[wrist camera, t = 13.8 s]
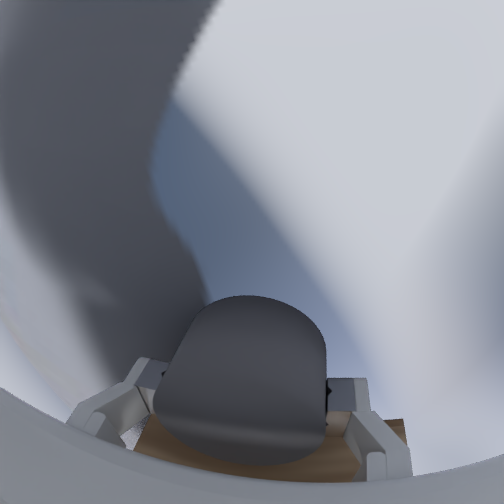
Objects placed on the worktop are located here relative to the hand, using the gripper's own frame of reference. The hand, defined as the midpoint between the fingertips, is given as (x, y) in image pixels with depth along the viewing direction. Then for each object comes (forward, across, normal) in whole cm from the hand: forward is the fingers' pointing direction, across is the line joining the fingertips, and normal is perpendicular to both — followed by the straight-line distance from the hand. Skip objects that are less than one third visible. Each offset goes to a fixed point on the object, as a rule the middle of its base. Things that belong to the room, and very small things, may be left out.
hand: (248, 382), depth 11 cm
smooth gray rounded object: (+2, 0, 0) cm, 2 cm away
